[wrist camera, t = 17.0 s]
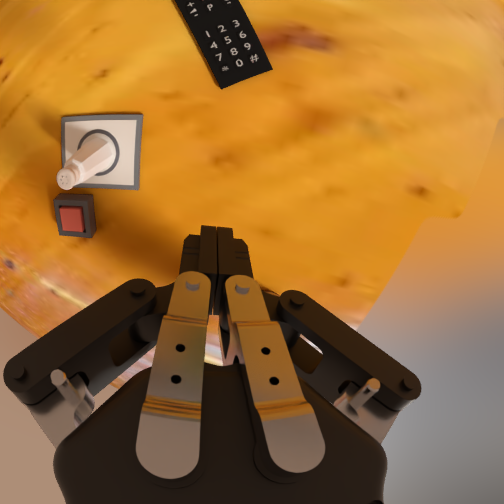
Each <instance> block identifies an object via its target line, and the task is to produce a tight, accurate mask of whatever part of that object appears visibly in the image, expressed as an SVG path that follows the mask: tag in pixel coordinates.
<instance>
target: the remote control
mask: <svg viewBox="0 0 504 504" xmlns="http://www.w3.org/2000/svg"><path fill="white" fill-rule="evenodd" d="M175 2H176V3H177V5H178V7H179V9H180V11H181V12H182V14H183V16H184V18H185V20H186V22H187V23H188V25H189V27H190V29H191V31H192V33H193V35H194V37H195V38H196V40H197V42H198V44H199V46H200V48H201V50H202V52H203V54H204V56H205V58H206V60H207V62H208V64H209V66H210V68H211V70H212V72H213V73H214V76H215V78H216V80H217V82H218V84H219V86H220V88H221V89H223V88H226V87H228V86H231V85H233V84H235V83H238V82H240V81H243V80H245V79H248V78H251V77H253V76H256V75H259V74H261V73H264V72H267V71H270V70H273V69H272V66H271V64H270V62H269V60H268V58H267V55H266V53H265V51H264V49H263V47H262V45H261V43H260V41H259V39H258V37H257V35H256V33H255V31H254V29H253V27H252V25H251V23H250V21H249V19H248V17H247V15H246V13H245V11H244V9H243V7H242V6H241V4H240V2H239V0H175Z"/></svg>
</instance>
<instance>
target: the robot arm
mask: <svg viewBox="0 0 504 504" xmlns="http://www.w3.org/2000/svg"><path fill="white" fill-rule="evenodd" d="M212 309H213V315H219V325H218V334H219V341H220V347H221V354H222V361H223V366H217V365H213V364H209V363H205V362H204V356H205V344H206V332H207V325H208V319H209V315H212ZM300 334H302V335H303V336H304V337H306V338H307V339H308V340H309V341H311V342H312V343H313V344H315V345H316V346H317V347H318V348H319V349H320V350H321V351H322V353H323V354H321V353H320V352H319V351H317V350H316V349H315V348H314V347H312V346H311V345H310V344H308V343H307V342H306V341H305V340H303V339H302V338H301V337H300ZM156 344H157V345H156ZM155 345H156V350H155V354H154V359H153V364H152V367H149V368H147V369H144V370H142V371H140V372H139V373H137V374H136V375H134V376H133V377H132V378H131V379H129V380H128V381H127V382H126V383H125V384H124V385H123V386H122V387H121V388H120V389H119V390H118V391H116V392H115V393H114V394H113V395H112V396H111V397H110V398H109V399H108V400H107V401H105V403H103V405H101V406H100V407H99V408H98V409H97V410H96V411H95V412H93V413H92V411H93V409H94V403H95V402H94V398H93V397H94V396H95V395H96V394H97V393H99V392H100V391H101V390H102V389H103V388H105V387H106V386H107V385H108V384H110V383H111V382H112V381H113V380H114V379H116V378H117V377H118V376H119V375H120V374H122V373H123V372H124V371H125V370H127V369H128V368H129V367H130V366H131V365H133V364H134V363H135V362H136V361H137V360H139V359H140V358H141V357H142V356H143V355H145V354H146V353H147V352H148V351H149V350H151V349H152V348H153V347H154V346H155ZM3 376H4V382H5V384H6V386H7V387H8V388H9V389H10V390H11V391H12V392H13V393H14V394H15V395H16V397H17V398H18V399H19V401H20V402H21V403H22V404H23V405H24V406H26V407H27V408H28V409H29V410H30V412H31V414H32V415H33V417H34V418H35V420H36V421H37V423H38V424H39V426H40V427H41V429H42V430H43V432H44V433H45V434H46V436H47V437H48V438H49V440H50V441H51V443H52V444H53V445H54V446H55V448H56V452H55V455H54V461H53V466H54V473H55V477H56V480H57V482H58V484H59V487H60V489H61V491H62V493H63V496H64V498H65V502H66V504H384V502H383V489H384V481H385V477H386V472H387V457H386V454H385V451H384V449H383V447H382V446H381V443H382V441H383V440H384V438H385V436H386V434H387V433H388V431H389V429H390V428H391V426H392V424H393V422H394V421H395V419H396V417H397V415H398V413H399V412H400V411H402V410H403V409H404V408H406V407H407V406H408V405H409V404H411V403H412V402H413V401H414V400H415V399H417V398H418V397H419V395H420V393H421V384H420V381H419V379H418V378H417V376H416V375H415V374H414V373H412V372H411V371H410V370H408V369H407V368H405V367H404V366H403V365H401V364H400V363H399V362H397V361H396V360H395V359H393V358H392V357H390V356H389V355H388V354H386V353H385V352H384V351H382V350H381V349H380V348H378V347H377V346H375V345H374V344H373V343H371V342H370V341H369V340H367V339H366V338H365V337H363V336H362V335H360V334H359V333H358V332H356V331H355V330H354V329H352V328H351V327H350V326H348V325H347V324H345V323H344V322H343V321H341V320H340V319H339V318H337V317H336V316H335V315H333V314H332V313H330V312H329V311H328V310H326V309H325V308H324V307H322V306H321V305H320V304H318V303H317V302H316V301H314V300H313V299H311V298H310V297H309V296H307V295H306V294H304V293H302V292H300V291H296V290H288V291H285V292H283V293H282V294H281V296H279V295H277V294H276V293H273V292H268V291H263V290H261V289H260V286H259V284H258V283H257V281H255V280H254V278H253V273H252V268H251V262H250V257H249V251H248V246H247V245H246V243H245V242H244V241H243V240H242V239H235V238H233V230H232V228H226V227H217V230H216V227H215V226H205V225H201V233H200V235H190V234H189V236H188V237H187V238H186V239H185V240H184V245H183V251H182V258H181V265H180V272H179V276H178V277H177V278H176V280H175V282H173V283H172V284H170V285H167V286H163V287H157V288H155V286H154V285H153V283H151V282H150V281H148V280H145V279H132V280H129V281H127V282H125V283H124V284H122V285H121V286H119V287H117V288H116V289H114V290H113V291H111V292H109V293H108V294H106V295H105V296H103V297H101V298H100V299H98V300H97V301H95V302H94V303H92V304H91V305H89V306H87V307H86V308H84V309H83V310H81V311H80V312H78V313H77V314H75V315H74V316H72V317H71V318H69V319H68V320H66V321H65V322H63V323H62V324H60V325H59V326H57V327H56V328H54V329H53V330H51V331H50V332H48V333H47V334H45V335H44V336H43V337H41V338H40V339H38V340H37V341H35V342H34V343H32V344H31V345H30V346H28V347H27V348H25V349H24V350H23V351H21V352H20V353H18V354H17V355H16V356H14V357H13V358H11V359H10V360H9V361H8V362H7V364H6V366H5V368H4V373H3ZM325 398H326V399H325ZM330 402H331V403H332V404H331V403H330ZM91 413H92V414H91ZM90 414H91V415H90ZM89 415H90V416H89Z"/></svg>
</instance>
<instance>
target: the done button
mask: <svg viewBox="0 0 504 504" xmlns="http://www.w3.org/2000/svg"><path fill="white" fill-rule="evenodd" d="M60 215H61V222H62V227H63V230H64V231H76V232H83V231H84V229H85V222H84V213H83V206H65V205H63V206H62V207H61V208H60Z"/></svg>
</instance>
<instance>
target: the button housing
mask: <svg viewBox="0 0 504 504" xmlns="http://www.w3.org/2000/svg"><path fill="white" fill-rule="evenodd" d="M53 201H54V207H55V214H56V220H57V225H58V231H59V235H63V236H74V237H86V238H92V237H93V235H94V234H95V232H96V223H95V213H94V202H93V195H89V194H59V195H58V196H57V197H56V198H55V199H54V200H53ZM63 205H65V206H83V213H84V222H85V229H84V231H83V232H76V231H64V230H63V227H62V222H61V215H60V208H61V207H62V206H63Z"/></svg>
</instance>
